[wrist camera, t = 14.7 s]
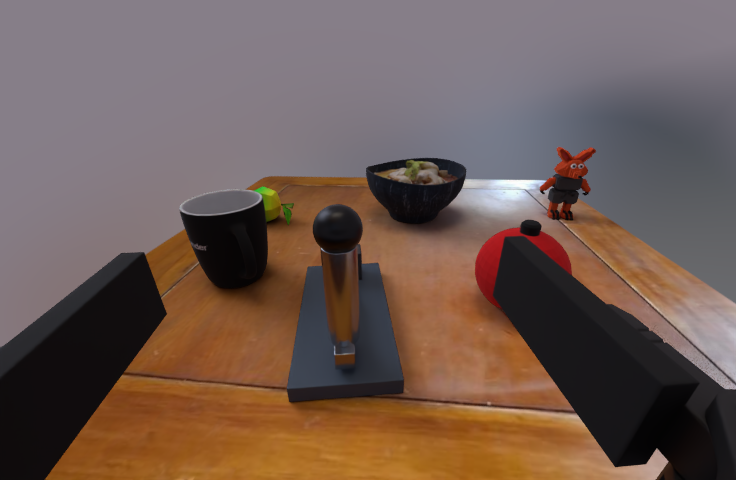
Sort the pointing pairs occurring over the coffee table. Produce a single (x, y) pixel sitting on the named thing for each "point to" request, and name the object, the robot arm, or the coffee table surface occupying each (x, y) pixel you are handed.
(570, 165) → the toy animal
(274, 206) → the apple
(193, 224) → the mug
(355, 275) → the ball-knob lever
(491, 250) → the ornament
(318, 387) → the grey lever base
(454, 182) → the bowl
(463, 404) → the coffee table surface
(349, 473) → the coffee table surface
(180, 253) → the coffee table surface
